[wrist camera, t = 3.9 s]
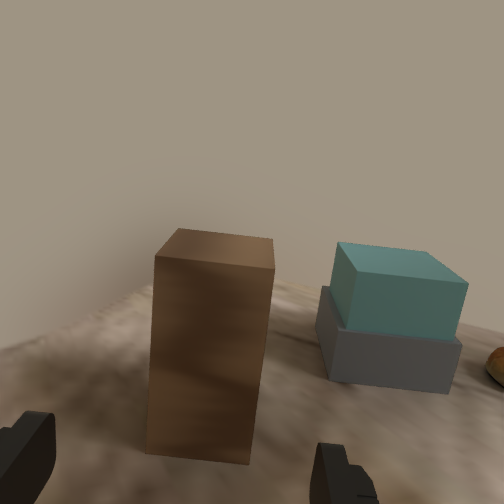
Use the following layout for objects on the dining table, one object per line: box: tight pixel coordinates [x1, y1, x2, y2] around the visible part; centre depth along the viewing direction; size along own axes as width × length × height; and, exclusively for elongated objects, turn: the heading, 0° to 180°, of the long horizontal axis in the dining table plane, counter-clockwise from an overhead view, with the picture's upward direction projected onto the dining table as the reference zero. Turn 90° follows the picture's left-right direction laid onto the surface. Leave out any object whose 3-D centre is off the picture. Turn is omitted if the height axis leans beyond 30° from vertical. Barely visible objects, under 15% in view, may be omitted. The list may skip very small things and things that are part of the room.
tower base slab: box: [315, 286, 462, 394], centre depth 31 cm, size 8×8×4 cm
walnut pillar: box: [145, 228, 275, 465], centre depth 21 cm, size 5×5×10 cm
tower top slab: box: [329, 242, 469, 341], centre depth 30 cm, size 7×7×4 cm
